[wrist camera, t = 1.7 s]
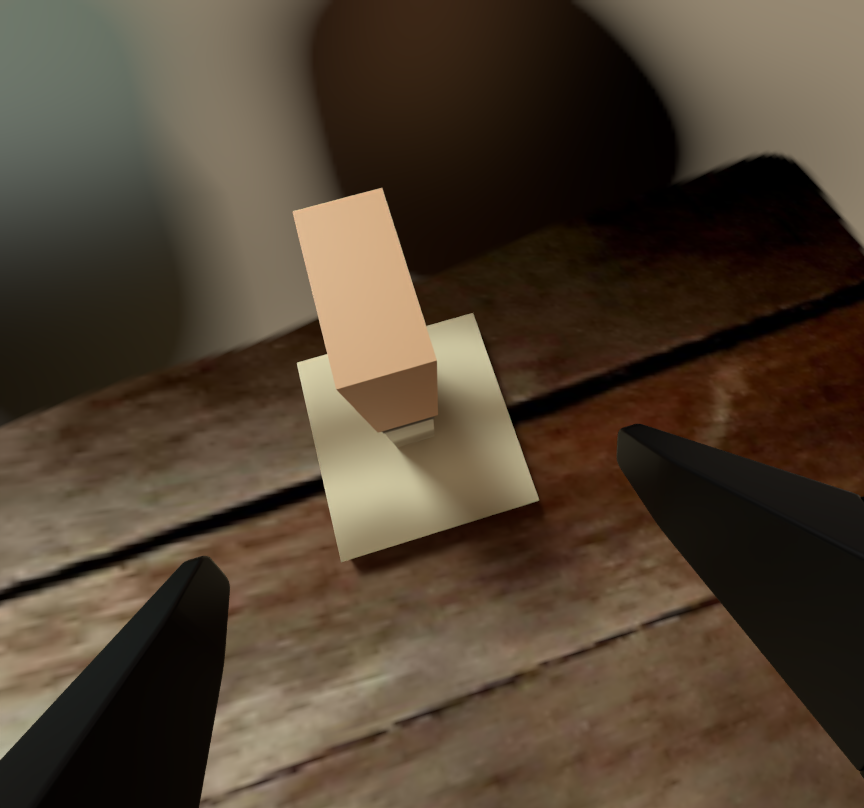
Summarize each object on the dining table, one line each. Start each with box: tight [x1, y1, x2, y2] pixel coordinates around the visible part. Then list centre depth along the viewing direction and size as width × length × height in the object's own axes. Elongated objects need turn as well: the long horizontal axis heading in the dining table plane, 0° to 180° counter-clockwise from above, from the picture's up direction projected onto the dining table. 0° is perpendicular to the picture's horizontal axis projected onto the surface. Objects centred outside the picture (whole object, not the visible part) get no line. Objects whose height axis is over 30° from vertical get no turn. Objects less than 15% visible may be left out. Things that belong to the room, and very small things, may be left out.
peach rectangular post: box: [293, 188, 438, 433], centre depth 12 cm, size 5×2×6 cm, turn 16°
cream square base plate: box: [297, 313, 539, 562], centre depth 18 cm, size 10×10×6 cm
